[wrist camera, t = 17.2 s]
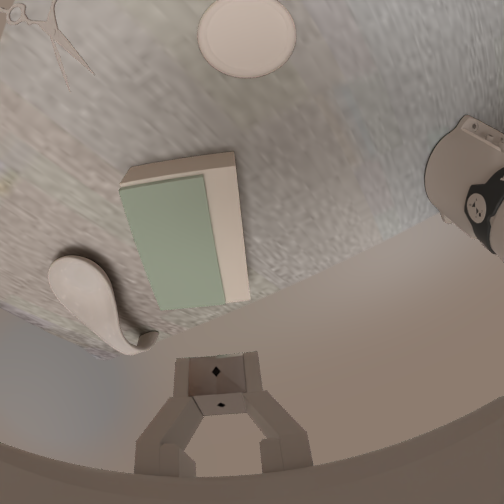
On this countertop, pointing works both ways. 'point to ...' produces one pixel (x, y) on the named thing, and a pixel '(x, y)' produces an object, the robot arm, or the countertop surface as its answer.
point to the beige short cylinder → (246, 36)
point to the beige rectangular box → (211, 210)
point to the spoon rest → (93, 301)
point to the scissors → (51, 30)
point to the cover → (175, 241)
